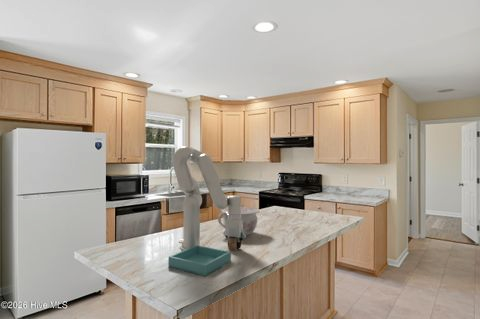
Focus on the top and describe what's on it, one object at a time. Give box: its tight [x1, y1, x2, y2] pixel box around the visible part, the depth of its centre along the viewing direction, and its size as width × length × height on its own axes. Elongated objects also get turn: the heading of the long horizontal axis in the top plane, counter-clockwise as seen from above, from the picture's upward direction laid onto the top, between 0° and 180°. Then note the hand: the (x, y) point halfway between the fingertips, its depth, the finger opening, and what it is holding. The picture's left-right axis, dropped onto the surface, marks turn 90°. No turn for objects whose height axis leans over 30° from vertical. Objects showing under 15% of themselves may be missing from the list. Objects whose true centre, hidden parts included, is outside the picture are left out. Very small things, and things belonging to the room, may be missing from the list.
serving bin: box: [167, 245, 232, 277], centre depth 143 cm, size 22×22×5 cm
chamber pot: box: [217, 204, 260, 236], centre depth 203 cm, size 28×28×21 cm
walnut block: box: [227, 237, 238, 252], centre depth 168 cm, size 5×5×7 cm
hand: (234, 247), depth 168 cm, fingers open, 5 cm apart
